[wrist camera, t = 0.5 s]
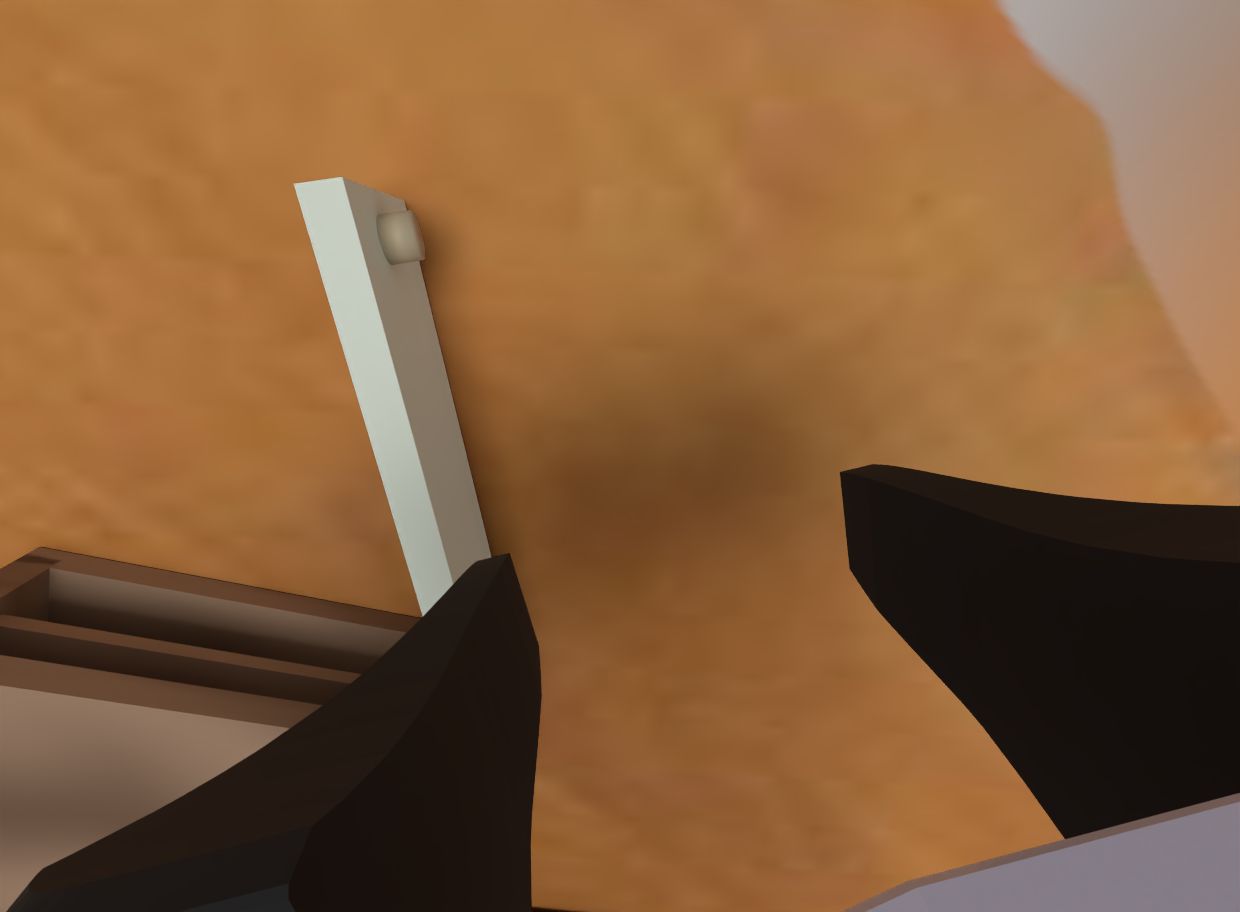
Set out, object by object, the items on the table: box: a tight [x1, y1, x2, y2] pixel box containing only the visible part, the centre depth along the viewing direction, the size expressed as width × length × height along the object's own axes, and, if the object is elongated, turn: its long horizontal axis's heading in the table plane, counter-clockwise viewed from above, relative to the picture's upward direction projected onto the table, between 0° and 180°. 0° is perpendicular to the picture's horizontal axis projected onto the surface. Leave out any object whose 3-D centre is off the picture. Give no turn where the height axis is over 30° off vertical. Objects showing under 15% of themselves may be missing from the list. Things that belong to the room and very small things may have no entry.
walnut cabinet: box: [0, 547, 421, 912], centre depth 20 cm, size 10×16×6 cm, turn 73°
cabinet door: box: [294, 177, 491, 616], centre depth 18 cm, size 2×15×6 cm, turn 8°
